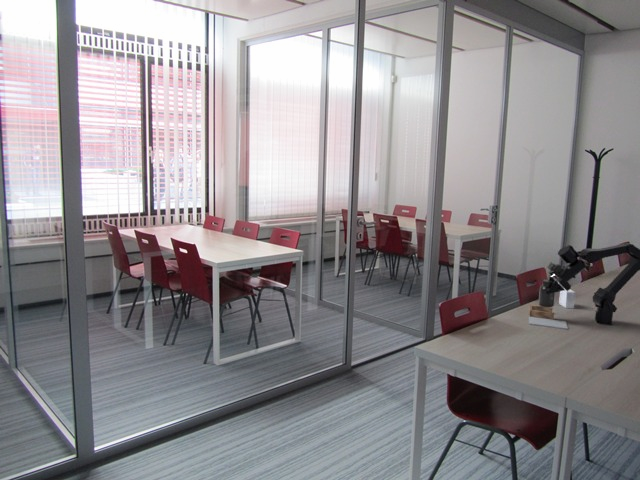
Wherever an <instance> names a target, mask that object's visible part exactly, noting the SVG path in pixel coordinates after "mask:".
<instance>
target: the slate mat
mask: <svg viewBox="0 0 640 480" xmlns="http://www.w3.org/2000/svg"><path fill="white" fill-rule="evenodd" d="M528 324H529V325H532V326H539V327H546V328H555V329H562V330H569V328H568V325H567V321H565V320H557V319H545V318H537V317H530V316H528Z"/></svg>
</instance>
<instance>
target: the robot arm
mask: <svg viewBox="0 0 640 480" xmlns="http://www.w3.org/2000/svg"><path fill="white" fill-rule="evenodd" d="M625 254H627V255H628V256H629V257H630V258H629V260H628V264H627V265H626V266H625V267H624V268H623V269H622V270H621V271H620V273H619V274H618V275H617V276H616V277H615V278H614V279H613V280H612V281H611V282H610V283H609V284H608V285H607V286H606V287H604V288H602V287H598V289H597V290H596V291H595V292H593V296H592V302H593V303H594V306H595V308H597V309H596V310H595V313H594V321H595V322H596V323H597V324H602V325H611V326H613V317H614V316H613V315H614V313H616V312H617V309H618V308H617V306H616V305H615V304H614V303H615V300H616V297H617V296H616V295H617V294H618V293H619V292H620V291H621V289H622V288H624V286H625V285H627V284H628V282H630V280H631V279H632V278H633V277H634V276H635V275H636V273H638V272H639V271H640V248H639V247H637V246H635V245H634V244H632V243H628V242H625V243H622V244H617V245H612V246H607V247H602V248H583V249H581V250H580V251H579V250H578V251H576V249H574V247H573V245H572V244H571V245H570V244H568V245H567V246H564V247H562V248H560V249H559V250H558V252H557V255H558V257H560V258H561V259H562V261H563V262H565V264H567V265H566V266H565V265H561V264H558V263H554V262H552V261H550V263H549V264H548V266H547V269H549V271H548V272H547V273H548V279H547V280H552V281H554V284H553V285H552V286H551V287H550V288H549V289H548V290H547V291H546V294H550V293H554V292H555V293H558V292H560V291H563V290H564V288H565V290H567V291H568V290H569V289H570V290H572V289H571V288H572V285H571V284H570V283H569V281H571V280H572V279H575V278H577V277H576V276H577V275H578V274H580V273H581V272H582V271H583V270H585V271H586V272H590V265H589V264H595V263H598V262H599V261H601V260H602V259H605V258H610V257H614V256H619V255H625ZM586 263H587V264H586Z"/></svg>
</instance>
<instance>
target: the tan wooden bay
mask: <svg viewBox="0 0 640 480" xmlns="http://www.w3.org/2000/svg"><path fill="white" fill-rule="evenodd" d="M553 308H554V307H543V306H540V305H535V304H529V306H528V315H529V316H528V317H536V318H544V319H552V320H555V319H554V318H555V317H554V316H555V312H553Z"/></svg>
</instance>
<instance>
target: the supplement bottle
mask: <svg viewBox="0 0 640 480" xmlns="http://www.w3.org/2000/svg"><path fill="white" fill-rule="evenodd" d="M541 283H542V285H540V286H539V293H538V306H543V307H552V308H554V306H555V302H556V301H555V299H556V292H554V293H550V294H546V291H547V290H548V289H549V288H550V287H551V286H552V285H553V284H554V281H552V280H548V279H543V280H542V282H541Z"/></svg>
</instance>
